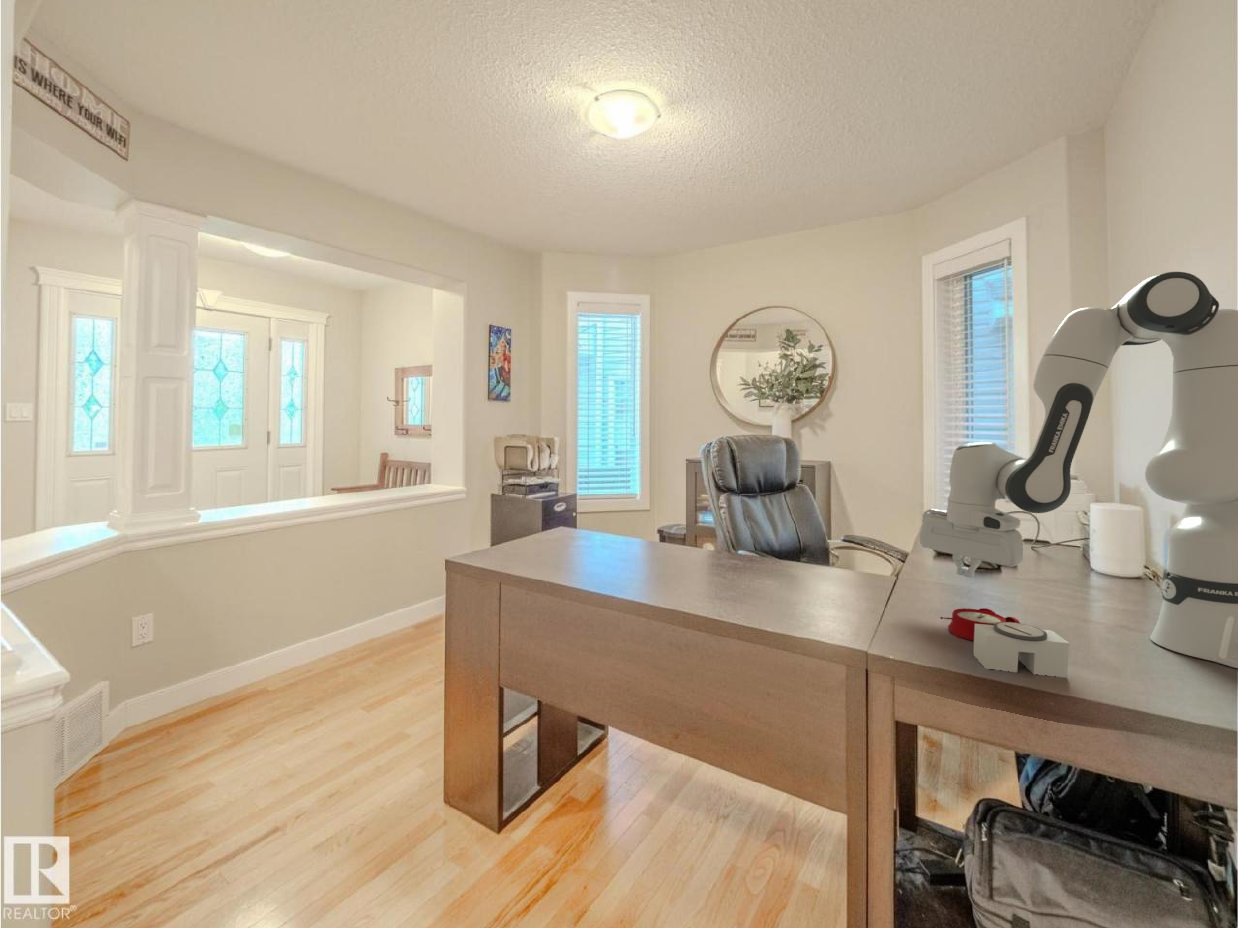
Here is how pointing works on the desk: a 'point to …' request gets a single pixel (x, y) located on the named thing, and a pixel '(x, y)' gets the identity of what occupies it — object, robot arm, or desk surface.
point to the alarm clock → (973, 621)
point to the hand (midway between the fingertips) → (965, 575)
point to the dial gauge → (1021, 648)
